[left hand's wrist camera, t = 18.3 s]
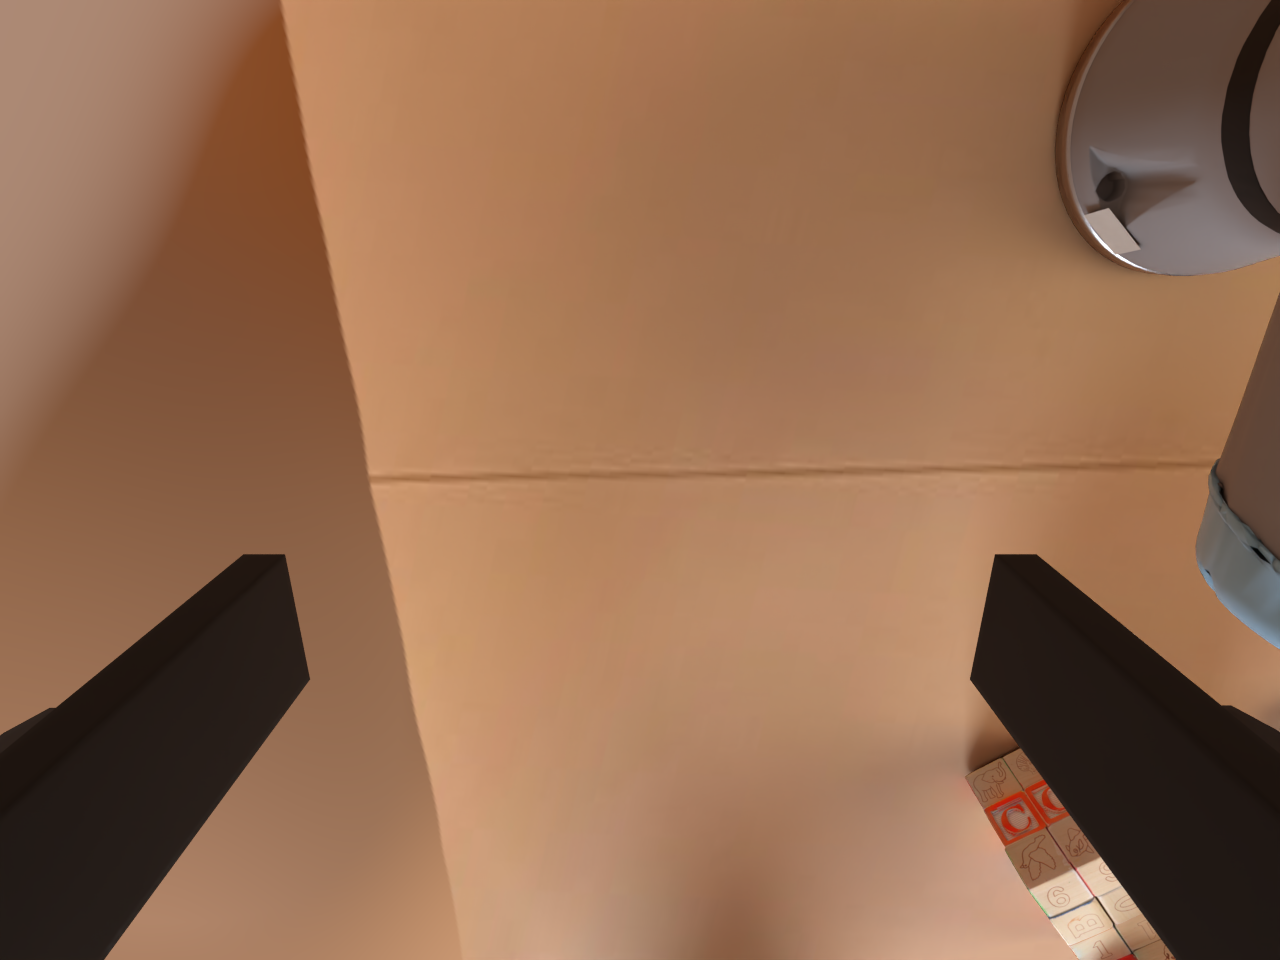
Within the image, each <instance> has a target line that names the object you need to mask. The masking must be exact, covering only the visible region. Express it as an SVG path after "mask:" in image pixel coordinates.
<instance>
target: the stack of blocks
mask: <svg viewBox="0 0 1280 960" xmlns="http://www.w3.org/2000/svg"><path fill="white" fill-rule="evenodd" d="M965 778H966V780H967V782H968V784H969V785H970V787H971V789H972V791H973V792H974V794H975V796H976V797H977V799H978V801H979V802H980V804H981V805H982V807H983V809H984V812H985V814H986V816H987V817H988V819H989V821H990V823H991V824H992V826H993V828H994V829H995V831H996V833H997V835H998V836H999V838H1000V840H1001V841H1002V843H1003V845H1004V846H1005V851H1006V853H1007V855H1008V857H1009V858H1010V860H1011V862H1012V864H1013V865H1014V867H1015V869H1016V870H1017V872H1018V874H1019V876H1020V877H1021V879H1022V881H1023V882H1024V884H1025V886H1026V887H1027V889H1028V890H1029V892H1030V894H1031V895H1032V896H1033V897H1034V899H1035V900H1036V901H1037V903H1038V904H1039V905H1040V907H1041V908H1042V910H1043V911H1044V912H1045V913H1046V915H1047V917H1048V918H1049V920H1050V921H1051V923H1052V924H1053V926H1054V927H1055V928H1056V930H1057V931H1058V932H1059V934H1060V935H1061V936H1062V938H1063V939H1064V940H1065V942H1066V943H1067V944H1068V946H1069V947H1070V949H1071V950H1072V951H1073V953H1074V954H1075V956H1076V957H1077V958H1078V959H1079V960H1176V959H1175V958H1174V956H1173V955H1172V954H1171V952H1170V951H1169V949H1168V948H1167V947H1166V945H1165V944H1164V943H1163V941H1162V940H1161V939H1160V937H1159V936H1158V935H1157V933H1156V932H1155V930H1154V929H1153V928H1152V926H1151V925H1150V924H1149V922H1148V921H1147V920H1146V918H1145V917H1144V915H1143V914H1142V913H1141V911H1140V910H1139V909H1138V907H1137V906H1136V905H1135V903H1134V902H1133V900H1132V899H1131V898H1130V896H1129V895H1128V894H1127V892H1126V891H1125V890H1124V888H1123V887H1122V885H1121V884H1120V883H1119V881H1118V880H1117V879H1116V877H1115V876H1114V875H1113V873H1112V872H1111V871H1110V869H1109V868H1108V866H1107V865H1106V864H1105V862H1104V861H1103V860H1102V858H1101V857H1100V856H1099V854H1098V853H1097V851H1096V850H1095V849H1094V847H1093V846H1092V845H1091V843H1090V842H1089V841H1088V839H1087V838H1086V836H1085V835H1084V834H1083V832H1082V831H1081V830H1080V828H1079V827H1078V826H1077V824H1076V823H1075V822H1074V820H1073V819H1072V817H1071V816H1070V815H1069V813H1068V812H1067V811H1066V809H1065V808H1064V807H1063V805H1062V804H1061V802H1060V801H1059V800H1058V798H1057V797H1056V796H1055V794H1054V793H1053V792H1052V790H1051V789H1050V787H1049V786H1048V785H1047V783H1046V782H1045V781H1044V779H1043V778H1042V777H1041V775H1040V774H1039V773H1038V771H1037V770H1036V768H1035V767H1034V766H1033V764H1032V763H1031V762H1030V760H1029V759H1028V758H1027V756H1026V755H1025V753H1024V752H1023V751H1022V749H1021V748H1020V749H1018V750H1016V751H1014V752H1012V753H1010V754H1008V755H1006V756H1004V757H1003V758H999V759H997V760H995V761H994V762H992V763H990V764H988V765H986V766H984V767H982V768H980V769H978V770H976V771H974V772H972V773H970V774H969V775H967V776H965Z"/></svg>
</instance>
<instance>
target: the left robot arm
mask: <svg viewBox="0 0 1280 960" xmlns="http://www.w3.org/2000/svg"><path fill="white" fill-rule="evenodd" d="M1055 160H1056V173H1057V179H1058V185H1059V189H1060V193H1061V197H1062V200H1063V203H1064V205H1065V208H1066V210H1067V213H1068V215H1069V216H1070V218H1071V220H1072V222H1073V224H1074V225H1075V227H1076V228H1077V230H1078V231H1079V233H1080V234H1081V235H1082V236H1083V238H1084V239H1085V240H1086V241H1087V242H1088V243H1089V244H1090V245H1091V246H1092V247H1093V248H1094V249H1095V250H1097V251H1098V252H1099V253H1100V254H1102V255H1103V256H1105V257H1106V258H1108V259H1109V260H1111V261H1113V262H1115V263H1117V264H1119V265H1121V266H1124V267H1127V268H1129V269H1132V270H1136V271H1140V272H1144V273H1152V274H1161V275H1172V276H1193V275H1203V274H1213V273H1220V272H1226V271H1230V270H1235V269H1239V268H1242V267H1245V266H1248V265H1252V264H1254V263H1257V262H1261V261H1264V260H1267V259H1271V258H1274V257H1277V256H1280V0H1123V1H1122V2H1121V3H1120V5H1119V6H1118V7H1117V8H1116V9H1115V10H1114V11H1113V12H1112V13H1111V14H1110V16H1109V17H1108V18H1107V19H1106V21H1105V22H1104V23H1103V24H1102V26H1101V27H1100V28H1099V30H1098V31H1097V33H1096V34H1095V35H1094V37H1093V38H1092V40H1091V41H1090V43H1089V44H1088V46H1087V48H1086V50H1085V51H1084V53H1083V55H1082V57H1081V58H1080V60H1079V62H1078V65H1077V67H1076V69H1075V71H1074V73H1073V75H1072V77H1071V80H1070V83H1069V85H1068V88H1067V91H1066V93H1065V97H1064V100H1063V104H1062V107H1061V111H1060V116H1059V121H1058V126H1057V135H1056V150H1055ZM1208 485H1209V492H1210V493H1209V497H1208V500H1207V504H1206V508H1205V512H1204V516H1203V519H1202V523H1201V526H1200V529H1199V533H1198V536H1197V541H1196V559H1197V563H1198V567H1199V570H1200V572H1201V573H1202V575H1203V577H1204V579H1205V580H1206V582H1207V584H1208V585H1209V586H1210V587H1211V588H1212V589H1213V590H1214V591H1215V593H1216V596H1217V597H1218V599H1219V600H1220V601H1221V603H1222V604H1223V605H1224V606H1225V607H1226V608H1227V609H1228V610H1229V611H1230V612H1231V613H1232V614H1233V615H1234V616H1236V617H1237V618H1238V619H1239V620H1240V621H1242V622H1243V623H1244V624H1245V625H1247V626H1248V627H1249V628H1250V629H1251V630H1253V631H1254V632H1255V633H1257V634H1258V635H1259V636H1261V637H1262V638H1264V639H1265V640H1267V641H1268V642H1269V643H1271V644H1272V645H1274V646H1275V647H1277V648H1278V649H1280V293H1279V296H1278V299H1277V302H1276V305H1275V307H1274V310H1273V313H1272V316H1271V319H1270V322H1269V325H1268V327H1267V330H1266V333H1265V336H1264V339H1263V342H1262V344H1261V347H1260V350H1259V353H1258V356H1257V359H1256V362H1255V364H1254V367H1253V370H1252V373H1251V376H1250V379H1249V382H1248V384H1247V387H1246V390H1245V393H1244V396H1243V399H1242V402H1241V404H1240V407H1239V410H1238V413H1237V416H1236V418H1235V421H1234V424H1233V426H1232V429H1231V432H1230V434H1229V437H1228V439H1227V442H1226V445H1225V447H1224V450H1223V453H1222V455H1221V458H1220V459H1217V460H1216V462H1215V464H1214V465H1213V467H1212V470H1211V473H1210V475H1209V479H1208ZM309 680H310V677H309V672H308V667H307V662H306V657H305V652H304V647H303V642H302V637H301V632H300V627H299V622H298V617H297V612H296V607H295V602H294V597H293V592H292V587H291V582H290V577H289V572H288V567H287V563H286V558H285V555H284V554H244V555H242V556H241V557H240V558H239V559H237V560H236V561H235V562H234V563H232V564H231V565H230V566H229V567H228V568H226V569H225V570H224V571H223V572H222V573H220V574H219V575H218V576H217V577H215V578H214V579H213V580H212V581H210V582H209V583H208V584H207V585H206V586H204V587H203V588H202V589H201V590H199V591H198V592H197V593H196V594H195V595H193V596H192V597H191V598H190V599H188V600H187V601H186V602H185V603H184V604H182V605H181V606H180V607H179V608H177V609H176V610H175V611H174V612H173V613H171V614H170V615H169V616H168V617H166V618H165V619H164V620H163V621H162V622H160V623H159V624H158V625H157V626H155V627H154V628H153V629H152V630H151V631H149V632H148V633H147V634H146V635H144V636H143V637H142V638H141V639H140V640H138V641H137V642H136V643H135V644H133V645H132V646H131V647H130V648H129V649H127V650H126V651H125V652H124V653H122V654H121V655H120V656H119V657H118V658H116V659H115V660H114V661H113V662H111V663H110V664H109V665H108V666H107V667H105V668H104V669H103V670H102V671H100V672H99V673H98V674H97V675H96V676H94V677H93V678H92V679H91V680H89V681H88V682H87V683H86V684H85V685H83V686H82V687H81V688H80V689H79V690H77V691H76V692H75V693H74V694H72V695H71V696H70V697H69V698H67V699H66V700H65V701H64V702H63V703H61V704H60V705H59V706H58V707H56V708H49V709H47V710H45V711H43V712H41V713H40V714H38V715H36V716H34V717H32V718H30V719H29V720H27V721H25V722H23V723H21V724H19V725H17V726H16V727H14V728H12V729H10V730H8V731H6V732H5V733H3V734H2V735H0V960H104V959H105V958H106V956H107V955H108V954H109V952H110V951H111V949H112V948H113V947H114V945H115V944H116V943H117V941H118V940H119V939H120V937H121V936H122V934H123V933H124V932H125V930H126V929H127V928H128V926H129V925H130V924H131V922H132V921H133V920H134V918H135V917H136V915H137V914H138V913H139V911H140V910H141V909H142V907H143V906H144V905H145V903H146V902H147V900H148V899H149V898H150V896H151V895H152V894H153V892H154V891H155V890H156V888H157V887H158V885H159V884H160V883H161V881H162V880H163V879H164V877H165V876H166V875H167V873H168V872H169V871H170V869H171V868H172V866H173V865H174V864H175V862H176V861H177V860H178V858H179V857H180V856H181V854H182V853H183V851H184V850H185V849H186V847H187V846H188V845H189V843H190V842H191V841H192V839H193V838H194V836H195V835H196V834H197V832H198V831H199V830H200V828H201V827H202V826H203V824H204V823H205V821H206V820H207V819H208V817H209V816H210V815H211V813H212V812H213V811H214V809H215V808H216V807H217V805H218V804H219V802H220V801H221V800H222V798H223V797H224V796H225V794H226V793H227V792H228V790H229V789H230V787H231V786H232V785H233V783H234V782H235V781H236V779H237V778H238V777H239V775H240V774H241V773H242V771H243V770H244V768H245V767H246V766H247V764H248V763H249V762H250V760H251V759H252V757H253V756H254V755H255V753H256V752H257V751H258V749H259V748H260V747H261V745H262V744H263V743H264V741H265V740H266V738H267V737H268V736H269V734H270V733H271V732H272V730H273V729H274V728H275V726H276V725H277V723H278V722H279V721H280V719H281V718H282V717H283V715H284V714H285V713H286V711H287V710H288V709H289V707H290V706H291V704H292V703H293V702H294V700H295V699H296V698H297V696H298V695H299V694H300V692H301V691H302V689H303V688H304V687H305V685H306V684H307V683H308V681H309ZM970 680H971V681H972V683H973V684H974V685H975V687H976V688H977V689H978V691H979V692H980V694H981V695H982V696H983V698H984V699H985V700H986V702H987V703H988V704H989V706H990V707H991V709H992V710H993V711H994V713H995V714H996V715H997V717H998V718H999V719H1000V721H1001V722H1002V724H1003V725H1004V726H1005V728H1006V729H1007V730H1008V732H1009V733H1010V734H1011V736H1012V737H1013V738H1014V740H1015V741H1016V743H1017V744H1018V745H1019V747H1020V748H1021V749H1022V751H1023V752H1024V753H1025V755H1026V756H1027V758H1028V759H1029V760H1030V762H1031V763H1032V764H1033V766H1034V767H1035V768H1036V770H1037V771H1038V773H1039V774H1040V775H1041V777H1042V778H1043V779H1044V781H1045V782H1046V783H1047V785H1048V786H1049V787H1050V789H1051V790H1052V792H1053V793H1054V794H1055V796H1056V797H1057V798H1058V800H1059V801H1060V802H1061V804H1062V805H1063V807H1064V808H1065V809H1066V811H1067V812H1068V813H1069V815H1070V816H1071V817H1072V819H1073V820H1074V822H1075V823H1076V824H1077V826H1078V827H1079V828H1080V830H1081V831H1082V832H1083V834H1084V835H1085V836H1086V838H1087V839H1088V841H1089V842H1090V843H1091V845H1092V846H1093V847H1094V849H1095V850H1096V851H1097V853H1098V854H1099V856H1100V857H1101V858H1102V860H1103V861H1104V862H1105V864H1106V865H1107V866H1108V868H1109V869H1110V871H1111V872H1112V873H1113V875H1114V876H1115V877H1116V879H1117V880H1118V881H1119V883H1120V884H1121V885H1122V887H1123V888H1124V890H1125V891H1126V892H1127V894H1128V895H1129V896H1130V898H1131V899H1132V900H1133V902H1134V903H1135V905H1136V906H1137V907H1138V909H1139V910H1140V911H1141V913H1142V914H1143V915H1144V917H1145V918H1146V920H1147V921H1148V922H1149V924H1150V925H1151V926H1152V928H1153V929H1154V930H1155V932H1156V933H1157V935H1158V936H1159V937H1160V939H1161V940H1162V941H1163V943H1164V944H1165V945H1166V947H1167V948H1168V949H1169V951H1170V952H1171V954H1172V955H1173V956H1174V958H1175V959H1176V960H1280V732H1279V731H1277V730H1275V729H1274V728H1272V727H1270V726H1268V725H1266V724H1264V723H1263V722H1261V721H1259V720H1257V719H1255V718H1253V717H1251V716H1250V715H1248V714H1246V713H1244V712H1242V711H1240V710H1238V709H1237V708H1235V707H1233V706H1221V705H1220V704H1219V703H1217V702H1216V701H1215V700H1214V699H1213V698H1211V697H1210V696H1209V695H1208V694H1206V693H1205V692H1204V691H1203V690H1202V689H1200V688H1199V687H1198V686H1197V685H1195V684H1194V683H1193V682H1192V681H1191V680H1189V679H1188V678H1187V677H1186V676H1184V675H1183V674H1182V673H1181V672H1180V671H1178V670H1177V669H1176V668H1175V667H1173V666H1172V665H1171V664H1170V663H1169V662H1167V661H1166V660H1165V659H1164V658H1162V657H1161V656H1160V655H1159V654H1158V653H1156V652H1155V651H1154V650H1153V649H1151V648H1150V647H1149V646H1148V645H1147V644H1145V643H1144V642H1143V641H1142V640H1140V639H1139V638H1138V637H1137V636H1136V635H1134V634H1133V633H1132V632H1131V631H1129V630H1128V629H1127V628H1126V627H1125V626H1123V625H1122V624H1121V623H1120V622H1118V621H1117V620H1116V619H1115V618H1114V617H1112V616H1111V615H1110V614H1109V613H1107V612H1106V611H1105V610H1104V609H1103V608H1101V607H1100V606H1099V605H1098V604H1096V603H1095V602H1094V601H1093V600H1092V599H1090V598H1089V597H1088V596H1087V595H1085V594H1084V593H1083V592H1082V591H1081V590H1079V589H1078V588H1077V587H1076V586H1074V585H1073V584H1072V583H1071V582H1070V581H1068V580H1067V579H1066V578H1065V577H1063V576H1062V575H1061V574H1060V573H1059V572H1057V571H1056V570H1055V569H1054V568H1052V567H1051V566H1050V565H1049V564H1048V563H1046V562H1045V561H1044V560H1043V559H1041V558H1040V557H1039V556H1038V555H1037V554H995V557H994V562H993V567H992V572H991V577H990V582H989V587H988V592H987V597H986V602H985V607H984V612H983V617H982V622H981V627H980V632H979V637H978V642H977V647H976V652H975V657H974V662H973V667H972V672H971V677H970Z"/></svg>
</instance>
